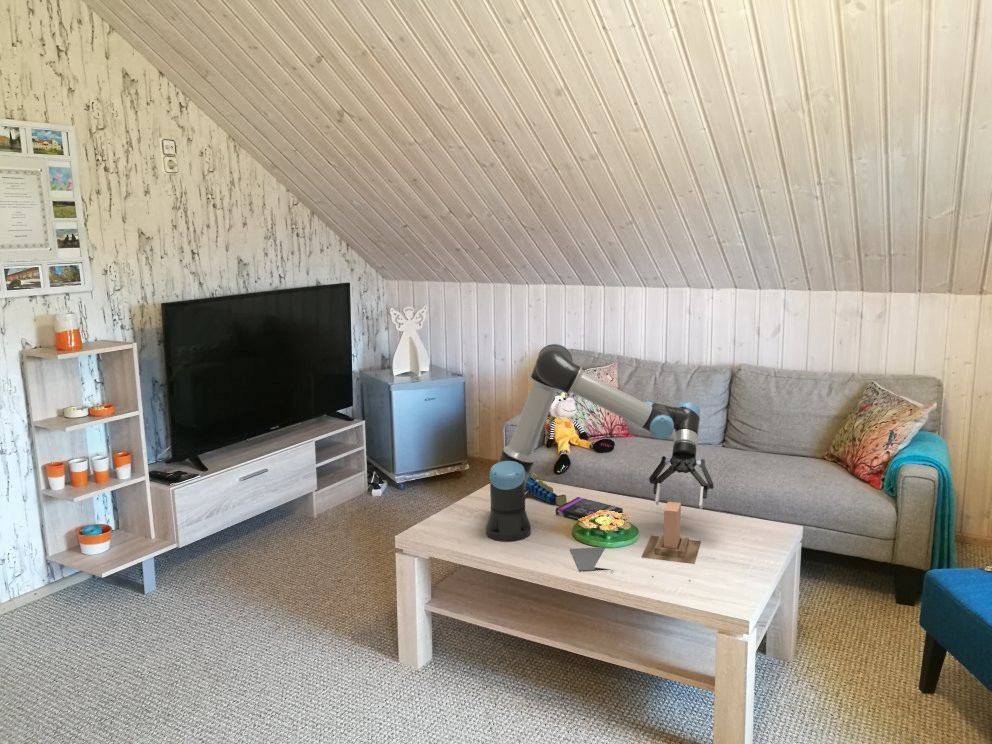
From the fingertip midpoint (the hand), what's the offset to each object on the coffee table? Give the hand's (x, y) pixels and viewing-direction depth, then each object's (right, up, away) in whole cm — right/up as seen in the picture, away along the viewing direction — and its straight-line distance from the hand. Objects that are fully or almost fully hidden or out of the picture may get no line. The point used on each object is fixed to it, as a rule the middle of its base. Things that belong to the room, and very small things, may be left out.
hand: (678, 505), depth 253 cm
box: (-25, -9, +31) cm, 41 cm away
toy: (-40, -6, +48) cm, 63 cm away
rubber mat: (-26, -16, -5) cm, 30 cm away
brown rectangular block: (-3, -13, -3) cm, 14 cm away
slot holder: (-3, -15, -3) cm, 15 cm away
